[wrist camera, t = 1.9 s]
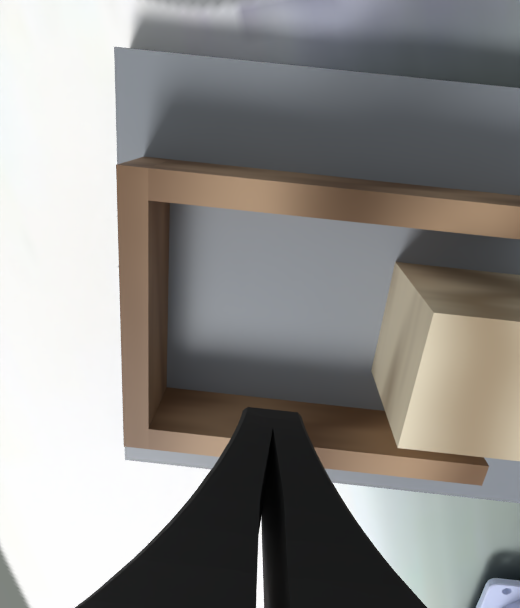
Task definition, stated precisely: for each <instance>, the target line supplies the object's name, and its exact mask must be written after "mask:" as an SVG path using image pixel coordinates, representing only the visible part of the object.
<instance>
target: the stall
mask: <svg viewBox="0 0 520 608" xmlns="http://www.w3.org/2000/svg"><path fill="white" fill-rule="evenodd" d="M116 172H117V209H118V246H119V282H120V319H121V356H122V393H123V429H124V447H132V448H142V449H151V450H160V451H169V452H178V453H187V454H196V455H205V456H215V457H220V456H221V454H222V452H223V451H224V449H225V447H226V446H227V444H228V443H229V441H230V439H231V437H232V435H233V433H234V431H235V429H236V427H237V425H238V423H239V420H240V418H241V415H242V411H243V410H244V409H245V408H247V407H253V408H263V409H272V410H281V411H291V412H298V413H299V414H300V416H301V417H302V420H303V423H304V426H305V428H306V431H307V433H308V436H309V438H310V440H311V442H312V445H313V447H314V449H315V451H316V453H317V455H318V457H319V459H320V461H321V463H322V465H323V467H324V468H325V469H333V470H342V471H352V472H361V473H370V474H379V475H388V476H397V477H406V478H416V479H425V480H434V481H443V482H452V483H461V484H470V485H479V486H482V484H483V482H484V479H485V476H486V474H487V471H488V468H489V465H488V463H487V462H486V460H485V458H484V457H476V456H467V455H457V454H448V453H439V452H430V451H421V450H411V449H402V448H397V445H396V442H395V439H394V436H393V433H392V430H391V427H390V424H389V421H388V418H387V415H386V412H385V411H381V410H372V409H363V408H354V407H344V406H335V405H326V404H317V403H307V402H298V401H289V400H280V399H270V398H261V397H252V396H243V395H234V394H224V393H215V392H206V391H197V390H187V389H178V388H169V387H167V335H168V277H169V220H170V203H177V204H187V205H196V206H206V207H215V208H225V209H234V210H244V211H253V212H263V213H272V214H282V215H291V216H301V217H311V218H320V219H330V220H339V221H349V222H358V223H368V224H377V225H387V226H396V227H406V228H415V229H425V230H435V231H444V232H454V233H463V234H473V235H482V236H492V237H501V238H511V239H520V196H518V195H508V194H499V193H489V192H479V191H470V190H460V189H451V188H441V187H431V186H422V185H412V184H403V183H393V182H383V181H374V180H364V179H354V178H345V177H335V176H326V175H316V174H306V173H297V172H287V171H278V170H268V169H258V168H249V167H239V166H230V165H220V164H210V163H201V162H191V161H181V160H172V159H162V158H153V157H141V158H137V159H134V160H131V161H127V162H124V163H121V164H117V165H116Z"/></svg>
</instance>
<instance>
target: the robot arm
mask: <svg viewBox="0 0 520 608" xmlns="http://www.w3.org/2000/svg"><path fill="white" fill-rule="evenodd" d="M261 515H262V549H263V580H264V608H427V607H426V606H425V605H424V604H423V603H422V601H421V600H420V599H419V598H418V597H417V596H416V595H415V594H414V593H413V591H412V590H411V589H410V588H409V587H408V586H407V585H406V584H405V582H404V581H403V580H402V579H401V578H400V577H399V576H398V575H397V573H396V572H395V571H394V570H393V569H392V568H391V566H390V565H389V564H388V563H387V561H386V560H385V559H384V558H383V556H382V555H381V554H380V553H379V551H378V550H377V549H376V547H375V546H374V545H373V543H372V542H371V541H370V539H369V538H368V537H367V535H366V534H365V533H364V531H363V530H362V529H361V527H360V526H359V524H358V523H357V521H356V520H355V518H354V517H353V515H352V514H351V512H350V511H349V509H348V508H347V506H346V505H345V503H344V501H343V500H342V498H341V497H340V495H339V493H338V492H337V490H336V488H335V487H334V485H333V483H332V481H331V480H330V478H329V476H328V474H327V472H326V470H325V468H324V467H323V465H322V463H321V461H320V459H319V457H318V455H317V453H316V451H315V449H314V447H313V445H312V442H311V440H310V438H309V436H308V433H307V431H306V428H305V426H304V423H303V420H302V417H301V416H300V414H299V413H298V412H291V411H281V410H272V409H263V408H253V407H247V408H245V409H244V410H243V411H242V415H241V418H240V420H239V423H238V425H237V427H236V429H235V431H234V433H233V435H232V437H231V439H230V441H229V443H228V444H227V446H226V447H225V449H224V451H223V452H222V454H221V456H220V457H219V459H218V461H217V462H216V464H215V465H214V467H213V468H212V469H211V471H210V472H209V474H208V475H207V476H206V478H205V479H204V481H203V482H202V483H201V485H200V486H199V487H198V489H197V490H196V491H195V493H194V494H193V495H192V496H191V498H190V499H189V500H188V501H187V503H186V504H185V505H184V506H183V507H182V509H181V510H180V511H179V512H178V513H177V514H176V515H175V517H174V518H173V519H172V520H171V521H170V522H169V523H168V524H167V525H166V526H165V527H164V529H163V530H162V531H161V532H160V533H159V534H158V535H157V536H156V537H155V538H154V539H153V540H152V541H151V542H150V543H149V544H148V545H147V546H146V547H145V548H144V549H143V550H142V551H141V552H140V553H139V554H138V555H137V556H136V557H135V558H134V559H132V560H131V561H130V562H129V563H128V564H127V565H126V566H124V567H123V568H122V569H121V570H120V571H119V572H118V573H116V574H115V575H114V576H113V577H112V578H111V579H110V580H108V581H107V582H106V583H105V584H104V585H103V586H102V587H101V588H99V589H98V590H97V591H96V592H94V593H93V594H92V595H91V596H90V597H88V598H87V599H86V600H85V601H83V602H82V603H81V604H79V605H78V606H77V607H75V608H256V585H257V557H258V534H259V528H260V521H261ZM476 608H520V581H519V580H510V579H501V578H492V579H490V580H488V581H487V583H486V585H485V587H484V590H483V592H482V594H481V597H480V599H479V601H478V604H477V606H476Z"/></svg>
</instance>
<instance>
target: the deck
mask: <svg viewBox="0 0 520 608" xmlns="http://www.w3.org/2000/svg"><path fill="white" fill-rule="evenodd" d="M114 54H115V92H116V130H117V164H121V163H124V162H127V161H131V160H134V159H137V158H141V157H153V158H162V159H172V160H181V161H191V162H201V163H210V164H220V165H230V166H239V167H249V168H258V169H268V170H278V171H287V172H297V173H306V174H316V175H326V176H335V177H345V178H354V179H364V180H374V181H383V182H393V183H403V184H412V185H422V186H431V187H441V188H451V189H460V190H470V191H479V192H489V193H499V194H508V195H518V196H520V88H514V87H504V86H494V85H484V84H474V83H465V82H455V81H445V80H435V79H425V78H416V77H406V76H396V75H386V74H376V73H367V72H357V71H347V70H337V69H328V68H318V67H308V66H298V65H288V64H279V63H269V62H259V61H249V60H239V59H230V58H220V57H210V56H200V55H190V54H181V53H171V52H161V51H151V50H141V49H132V48H122V47H114ZM395 262H401V263H411V264H420V265H430V266H439V267H449V268H458V269H468V270H477V271H486V272H496V273H505V274H515V275H520V239H511V238H501V237H492V236H482V235H473V234H463V233H454V232H444V231H435V230H425V229H415V228H406V227H396V226H387V225H377V224H368V223H358V222H349V221H339V220H330V219H320V218H311V217H301V216H291V215H282V214H272V213H263V212H253V211H244V210H234V209H225V208H215V207H206V206H196V205H187V204H177V203H170V220H169V277H168V335H167V387H169V388H178V389H187V390H197V391H206V392H215V393H224V394H234V395H243V396H252V397H261V398H270V399H280V400H289V401H298V402H307V403H317V404H326V405H335V406H344V407H354V408H363V409H372V410H381V411H385V409H384V407H383V404H382V401H381V398H380V395H379V392H378V389H377V386H376V383H375V380H374V377H373V374H372V371H371V370H372V365H373V361H374V356H375V351H376V347H377V342H378V338H379V333H380V329H381V324H382V320H383V315H384V311H385V306H386V302H387V297H388V292H389V288H390V283H391V279H392V274H393V270H394V265H395ZM484 458H485V457H484ZM218 459H219V457H215V456H205V455H196V454H187V453H178V452H169V451H160V450H151V449H142V448H132V447H125V460H132V461H141V462H150V463H159V464H168V465H177V466H187V467H196V468H205V469H212V468H213V467H214V465H215V464H216V462H217V461H218ZM485 460H486V462H487V463H488V465H489V468H488V471H487V474H486V476H485V479H484V482H483V484H482V486H479V485H470V484H461V483H452V482H443V481H434V480H425V479H416V478H406V477H397V476H388V475H379V474H370V473H361V472H352V471H342V470H333V469H325V470H326V472H327V474H328V476H329V478H330V480H331V481H332V483H342V484H351V485H360V486H369V487H378V488H387V489H396V490H405V491H414V492H424V493H433V494H442V495H451V496H460V497H469V498H478V499H487V500H496V501H506V502H515V503H520V461H512V460H503V459H494V458H485Z"/></svg>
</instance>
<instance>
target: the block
mask: <svg viewBox="0 0 520 608" xmlns="http://www.w3.org/2000/svg"><path fill="white" fill-rule="evenodd" d="M371 371H372V374H373V377H374V380H375V383H376V386H377V389H378V392H379V395H380V398H381V401H382V404H383V407H384V409H385V412H386V415H387V418H388V421H389V424H390V427H391V430H392V433H393V436H394V439H395V442H396V445H397V448H402V449H411V450H421V451H430V452H439V453H448V454H457V455H467V456H476V457H485V458H494V459H503V460H512V461H520V275H515V274H505V273H496V272H486V271H477V270H468V269H458V268H449V267H439V266H430V265H420V264H411V263H401V262H395V265H394V270H393V274H392V279H391V283H390V288H389V292H388V297H387V302H386V306H385V311H384V315H383V320H382V324H381V329H380V333H379V338H378V342H377V347H376V351H375V356H374V361H373V365H372V370H371Z"/></svg>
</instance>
